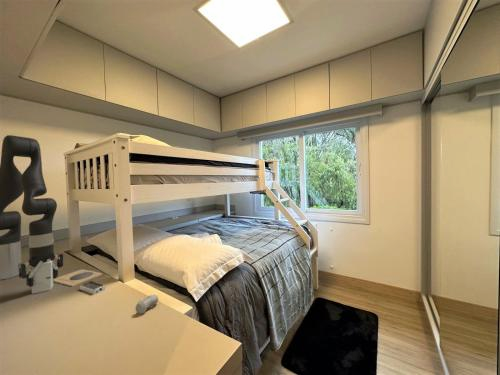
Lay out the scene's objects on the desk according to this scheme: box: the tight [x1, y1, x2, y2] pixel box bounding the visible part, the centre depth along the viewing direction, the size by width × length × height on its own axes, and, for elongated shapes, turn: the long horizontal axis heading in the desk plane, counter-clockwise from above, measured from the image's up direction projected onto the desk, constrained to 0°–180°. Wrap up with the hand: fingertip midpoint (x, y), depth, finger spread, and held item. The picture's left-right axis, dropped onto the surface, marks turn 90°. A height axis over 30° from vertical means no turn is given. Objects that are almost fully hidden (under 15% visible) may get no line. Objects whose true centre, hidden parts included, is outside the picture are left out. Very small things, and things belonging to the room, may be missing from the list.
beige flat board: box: [53, 268, 104, 287], centre depth 100 cm, size 17×13×1 cm
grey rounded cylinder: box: [134, 294, 159, 315], centre depth 72 cm, size 4×8×5 cm
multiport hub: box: [79, 280, 106, 296], centre depth 87 cm, size 4×11×2 cm, turn 64°
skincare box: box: [31, 260, 54, 295], centre depth 88 cm, size 6×4×12 cm
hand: (43, 282), depth 88 cm, fingers closed on skincare box, 7 cm apart
